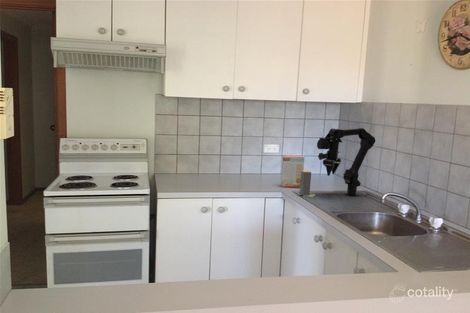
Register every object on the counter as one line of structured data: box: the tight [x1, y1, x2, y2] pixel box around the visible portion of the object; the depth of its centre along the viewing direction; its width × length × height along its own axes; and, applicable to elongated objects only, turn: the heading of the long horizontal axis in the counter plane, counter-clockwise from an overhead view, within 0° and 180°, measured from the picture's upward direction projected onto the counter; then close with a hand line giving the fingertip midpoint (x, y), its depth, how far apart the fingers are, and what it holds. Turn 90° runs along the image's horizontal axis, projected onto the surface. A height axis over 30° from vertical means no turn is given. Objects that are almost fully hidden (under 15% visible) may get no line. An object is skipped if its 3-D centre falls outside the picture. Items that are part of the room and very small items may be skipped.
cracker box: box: [280, 154, 305, 189], centre depth 279 cm, size 14×6×21 cm, turn 92°
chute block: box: [299, 169, 312, 195], centre depth 255 cm, size 4×4×14 cm
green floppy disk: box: [299, 193, 316, 198], centre depth 257 cm, size 7×8×1 cm
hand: (330, 174), depth 257 cm, fingers open, 9 cm apart
